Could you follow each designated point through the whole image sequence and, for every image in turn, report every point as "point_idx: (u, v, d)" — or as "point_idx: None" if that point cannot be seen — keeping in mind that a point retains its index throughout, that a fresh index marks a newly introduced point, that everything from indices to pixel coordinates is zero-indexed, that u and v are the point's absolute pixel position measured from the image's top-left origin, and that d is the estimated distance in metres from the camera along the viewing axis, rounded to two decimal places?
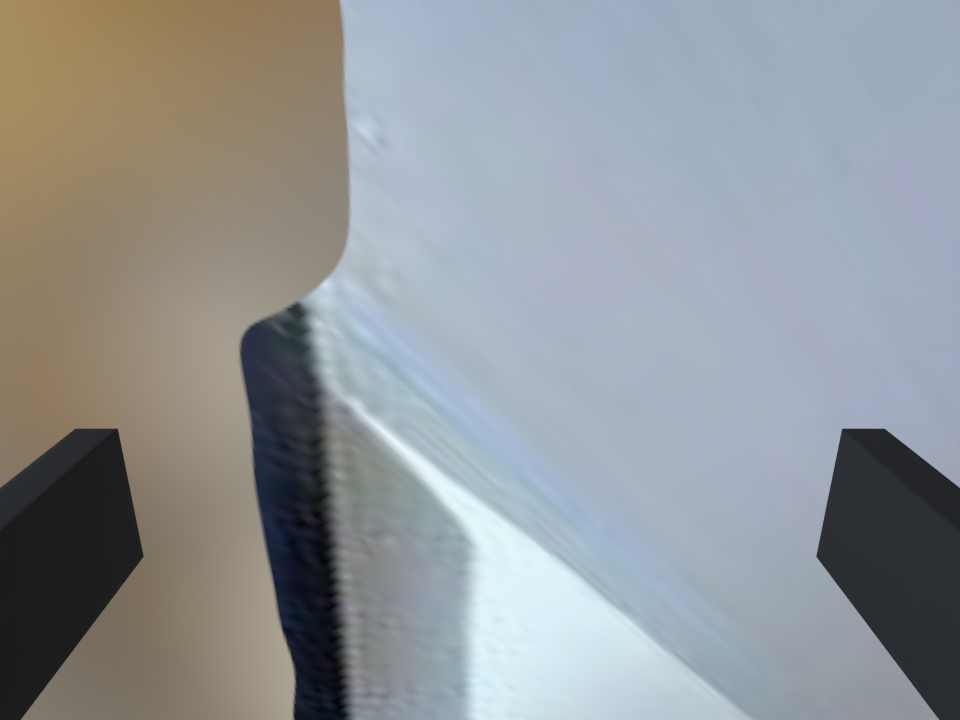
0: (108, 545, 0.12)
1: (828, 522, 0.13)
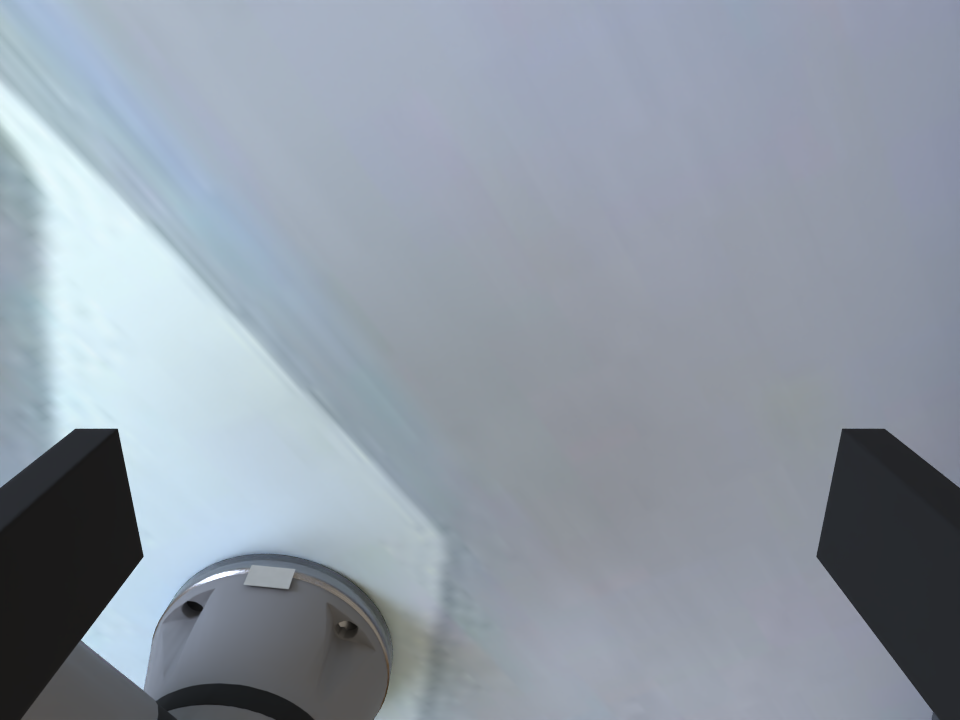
0: (108, 545, 0.12)
1: (828, 523, 0.13)
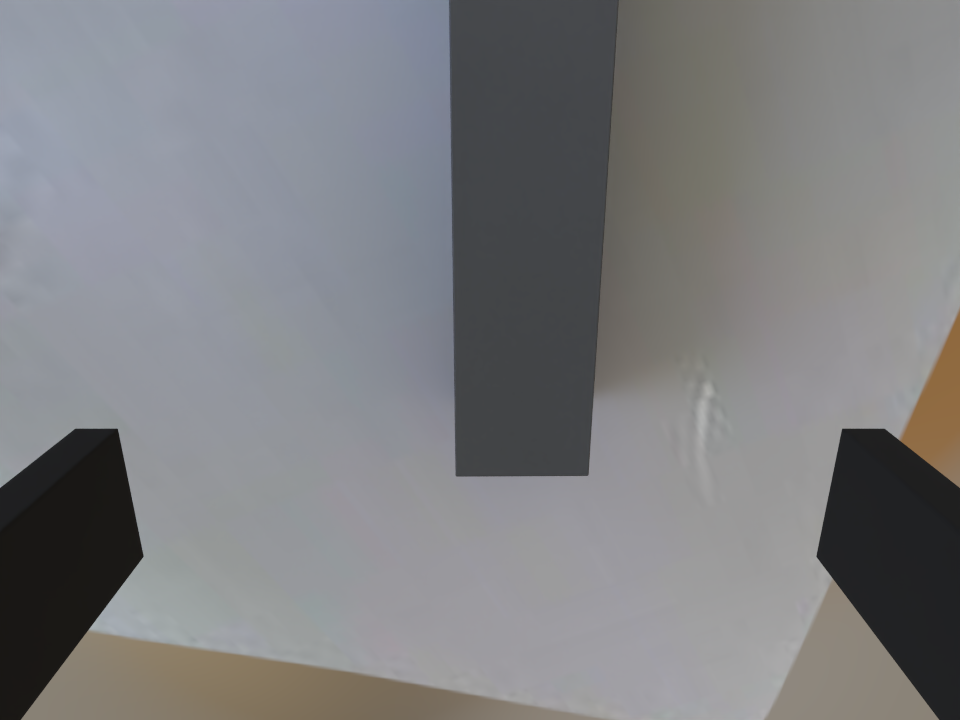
0: (108, 545, 0.12)
1: (828, 523, 0.13)
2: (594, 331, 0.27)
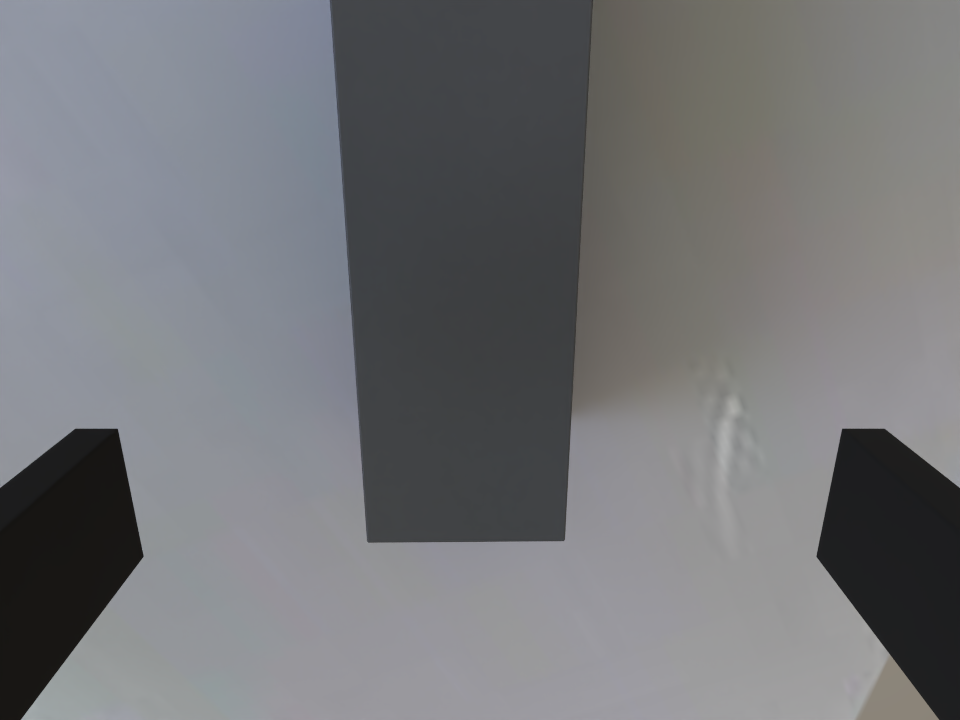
0: (108, 545, 0.12)
1: (827, 523, 0.13)
2: (571, 326, 0.17)
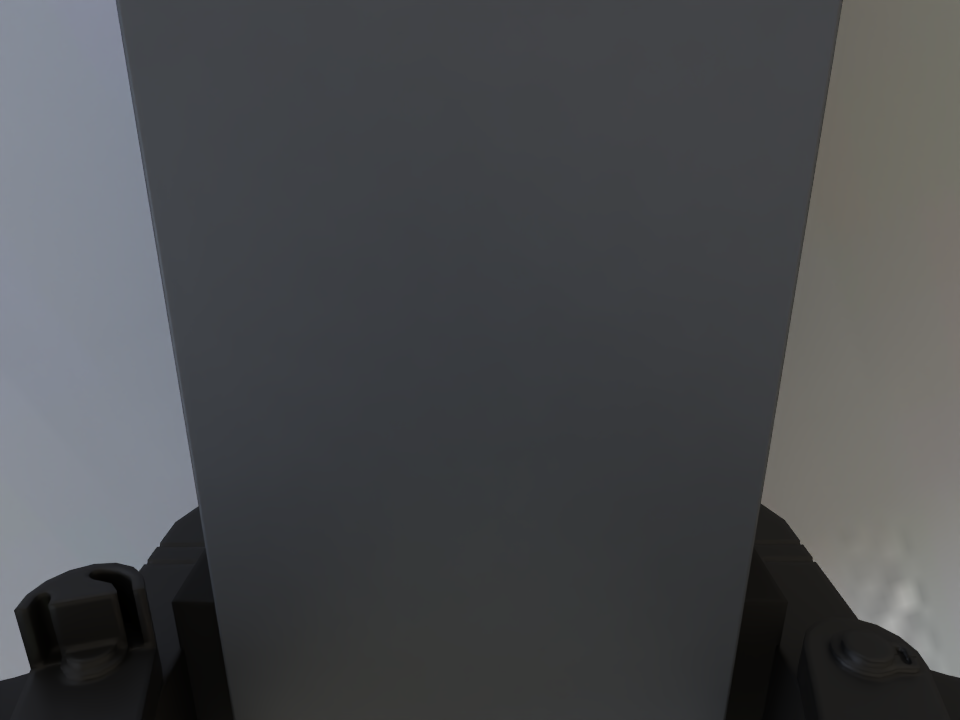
0: None
1: None
2: (731, 638, 0.07)
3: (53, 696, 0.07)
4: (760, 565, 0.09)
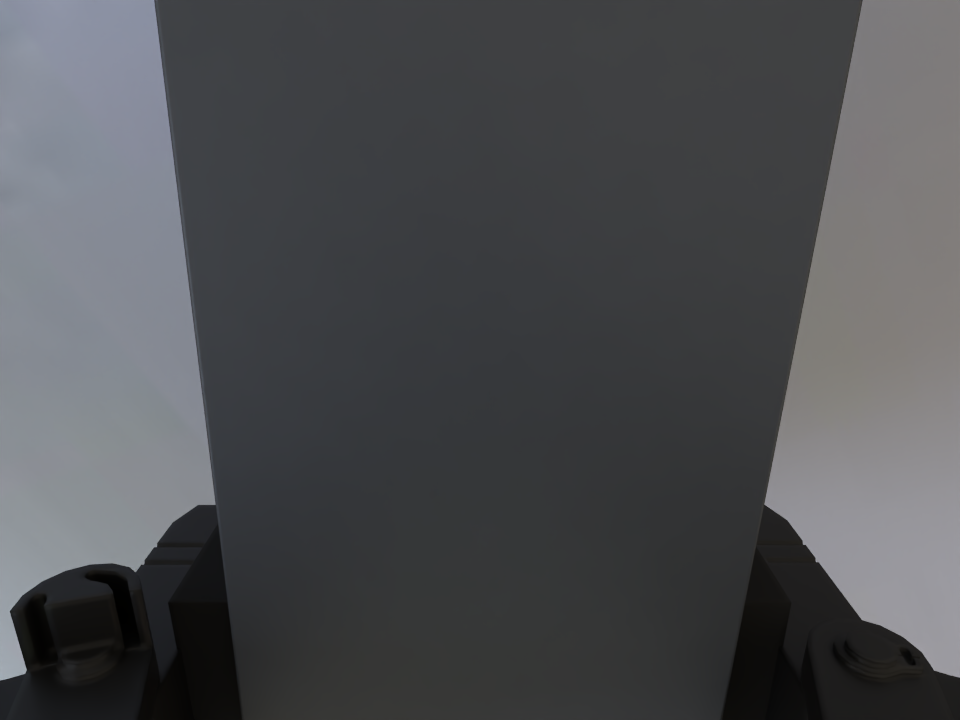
0: None
1: None
2: (732, 633, 0.07)
3: (49, 697, 0.07)
4: (764, 566, 0.08)
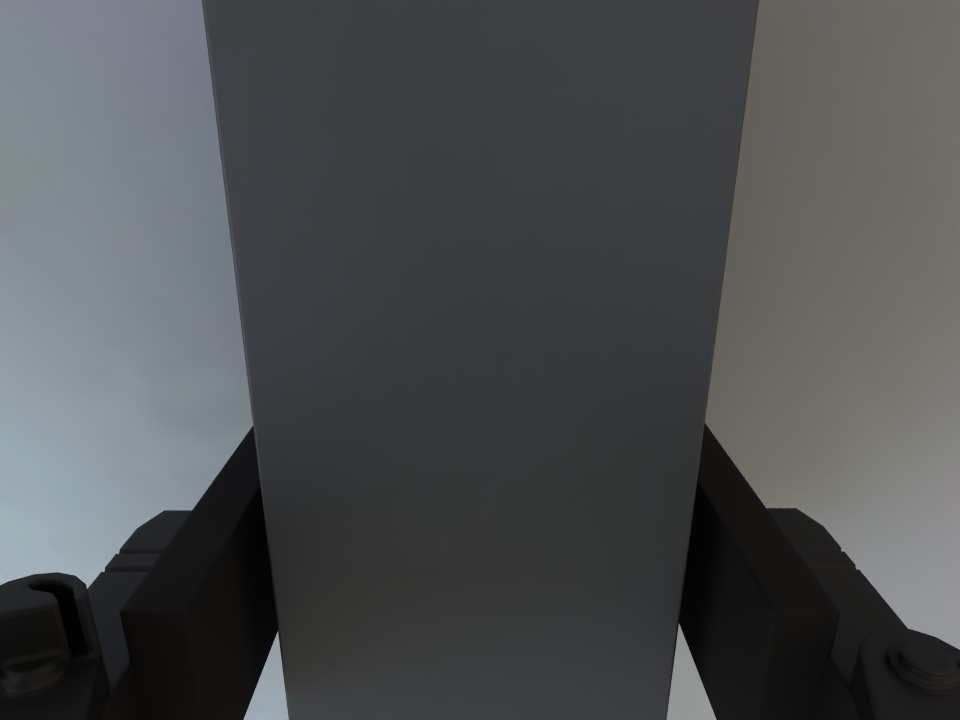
0: None
1: None
2: (686, 517, 0.09)
3: None
4: (808, 574, 0.08)
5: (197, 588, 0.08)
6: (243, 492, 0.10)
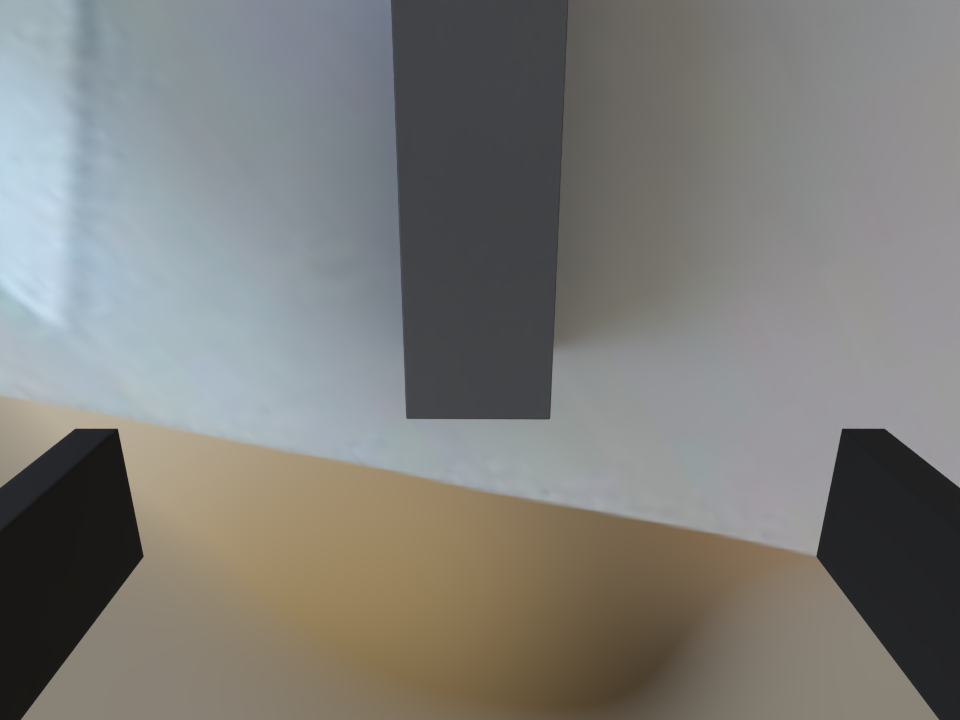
0: (108, 545, 0.12)
1: (827, 523, 0.13)
2: (554, 257, 0.24)
3: None
4: None
5: None
6: None
